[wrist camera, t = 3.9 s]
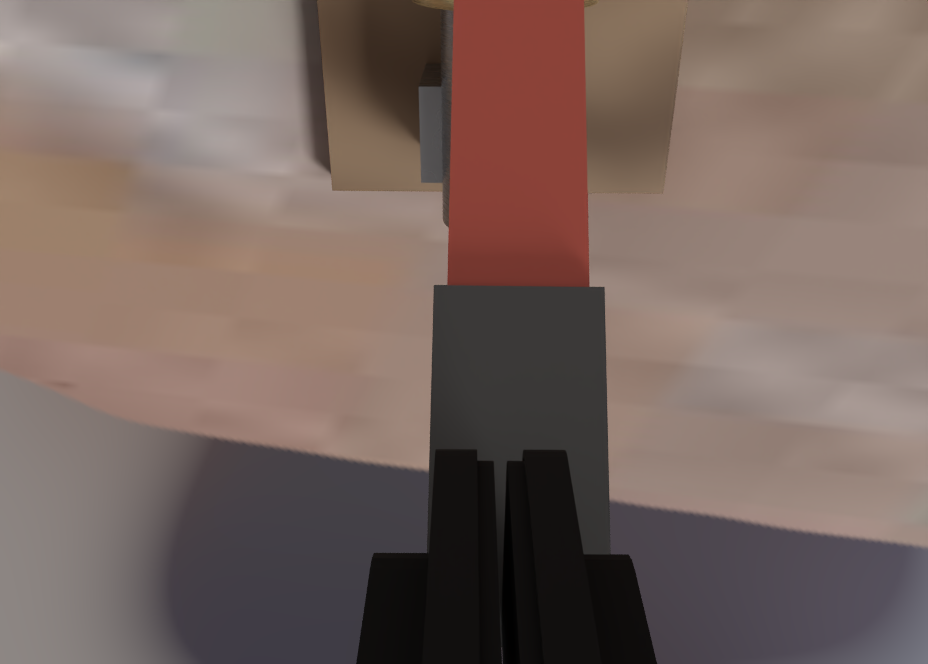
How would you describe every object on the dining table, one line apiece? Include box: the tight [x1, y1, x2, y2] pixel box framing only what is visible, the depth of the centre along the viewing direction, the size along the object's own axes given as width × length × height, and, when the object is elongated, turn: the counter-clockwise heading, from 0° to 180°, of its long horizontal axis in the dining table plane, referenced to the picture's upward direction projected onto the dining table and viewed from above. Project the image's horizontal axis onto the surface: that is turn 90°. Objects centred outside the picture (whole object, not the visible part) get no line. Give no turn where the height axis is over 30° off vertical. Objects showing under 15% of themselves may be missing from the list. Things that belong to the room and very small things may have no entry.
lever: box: [427, 0, 610, 647], centre depth 14 cm, size 16×3×2 cm
